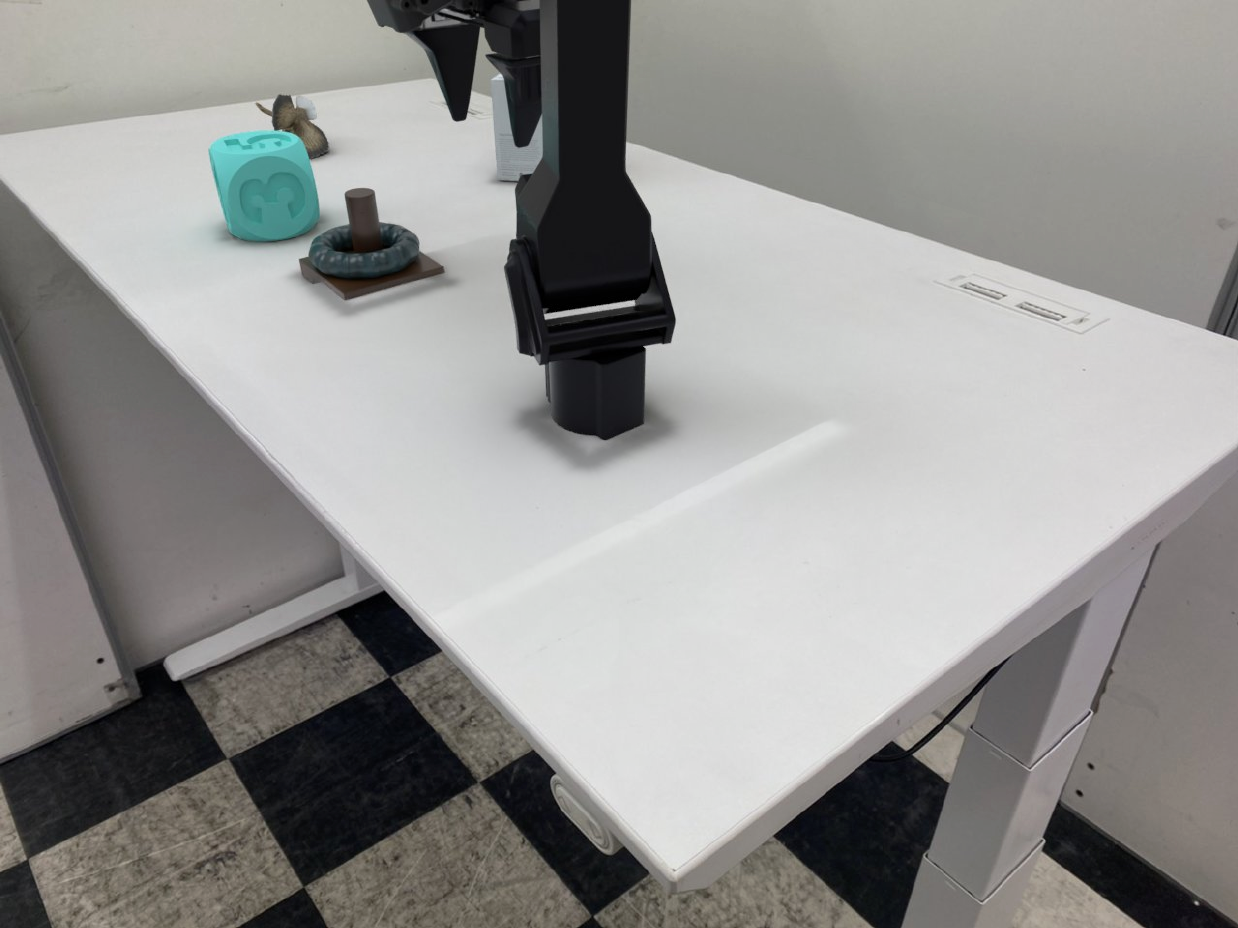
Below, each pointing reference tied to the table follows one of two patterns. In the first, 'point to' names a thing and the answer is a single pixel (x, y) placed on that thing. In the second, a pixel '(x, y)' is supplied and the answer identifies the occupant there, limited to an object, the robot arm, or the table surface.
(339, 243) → the ring
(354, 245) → the stand
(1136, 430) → the table surface
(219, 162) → the decorative dice
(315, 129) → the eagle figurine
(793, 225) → the table surface
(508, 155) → the small box
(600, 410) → the robot arm
